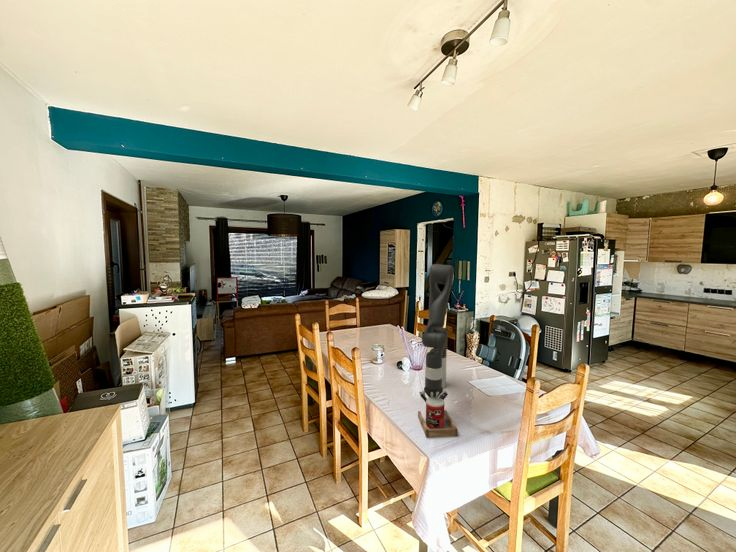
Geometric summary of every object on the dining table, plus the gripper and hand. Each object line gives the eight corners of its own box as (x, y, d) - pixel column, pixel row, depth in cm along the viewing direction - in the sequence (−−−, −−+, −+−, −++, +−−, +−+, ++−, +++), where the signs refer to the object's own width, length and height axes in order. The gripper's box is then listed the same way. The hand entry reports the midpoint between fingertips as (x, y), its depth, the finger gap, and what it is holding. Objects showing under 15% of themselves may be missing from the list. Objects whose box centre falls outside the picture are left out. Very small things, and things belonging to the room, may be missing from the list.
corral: (418, 417, 140) (418, 411, 140) (445, 416, 141) (445, 410, 141) (426, 437, 125) (426, 430, 125) (457, 436, 126) (457, 429, 126)
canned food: (422, 425, 134) (422, 401, 133) (432, 418, 140) (432, 394, 139) (437, 432, 129) (437, 407, 128) (447, 424, 134) (447, 400, 133)
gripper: (445, 371, 141) (444, 407, 143) (417, 372, 140) (416, 408, 142) (450, 378, 134) (450, 416, 136) (421, 379, 133) (420, 417, 135)
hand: (433, 412), depth 139 cm, fingers closed
